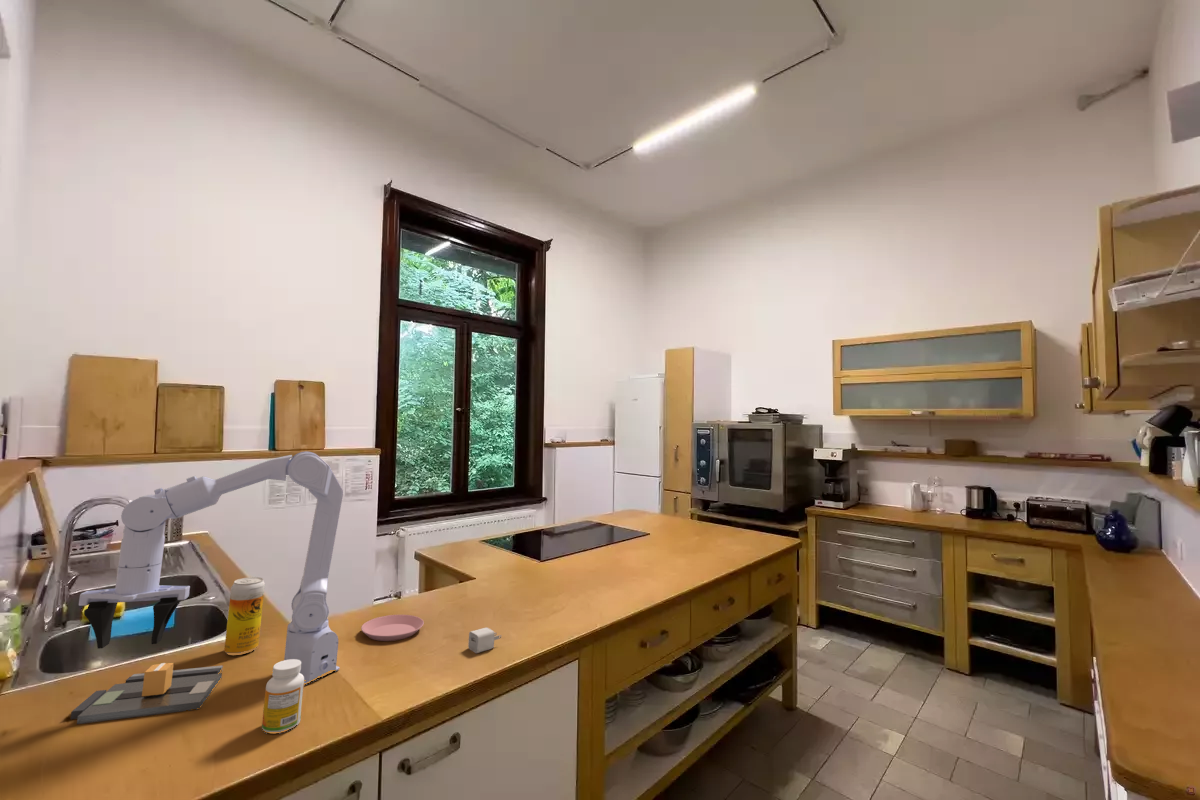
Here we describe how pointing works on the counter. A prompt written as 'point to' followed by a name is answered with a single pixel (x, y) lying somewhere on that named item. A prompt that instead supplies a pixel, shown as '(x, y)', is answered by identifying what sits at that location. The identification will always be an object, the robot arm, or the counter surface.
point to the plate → (392, 627)
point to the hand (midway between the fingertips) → (130, 644)
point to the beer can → (244, 615)
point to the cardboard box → (157, 679)
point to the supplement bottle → (283, 697)
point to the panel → (149, 699)
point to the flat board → (140, 678)
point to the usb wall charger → (482, 640)
